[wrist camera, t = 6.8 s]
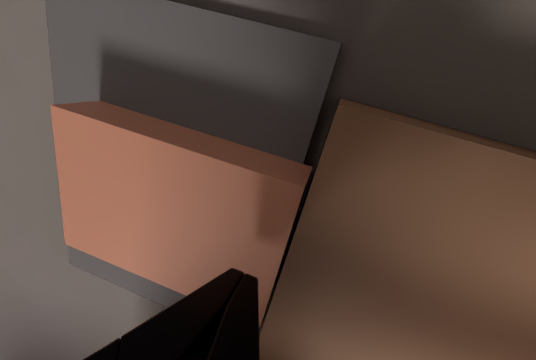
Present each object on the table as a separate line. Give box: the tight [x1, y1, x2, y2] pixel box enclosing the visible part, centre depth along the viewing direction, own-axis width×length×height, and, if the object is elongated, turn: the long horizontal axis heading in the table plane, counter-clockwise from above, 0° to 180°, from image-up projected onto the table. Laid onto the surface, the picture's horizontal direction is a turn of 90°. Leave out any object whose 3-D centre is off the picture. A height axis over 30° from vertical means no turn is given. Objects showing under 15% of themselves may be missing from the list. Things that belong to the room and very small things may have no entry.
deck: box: [259, 98, 536, 360], centre depth 9 cm, size 11×10×2 cm
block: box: [50, 101, 312, 327], centre depth 10 cm, size 9×6×2 cm, turn 78°
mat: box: [45, 0, 342, 308], centre depth 12 cm, size 14×11×1 cm
